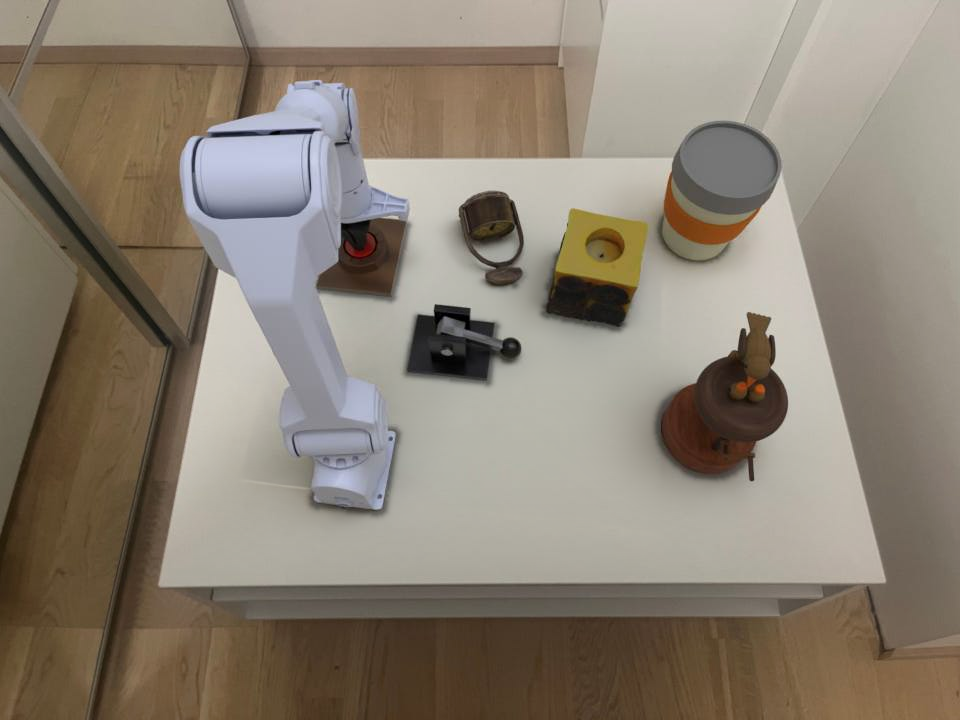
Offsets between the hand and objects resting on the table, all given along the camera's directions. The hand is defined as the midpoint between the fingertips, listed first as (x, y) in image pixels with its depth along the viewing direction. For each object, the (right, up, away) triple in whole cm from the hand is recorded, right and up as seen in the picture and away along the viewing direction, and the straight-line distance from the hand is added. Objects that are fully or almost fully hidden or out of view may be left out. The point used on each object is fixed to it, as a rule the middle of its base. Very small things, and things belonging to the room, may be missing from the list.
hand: (360, 243), depth 89 cm
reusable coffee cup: (+46, +2, +4) cm, 46 cm away
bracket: (+12, -14, -3) cm, 19 cm away
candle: (+31, -6, +1) cm, 31 cm away
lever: (+16, -13, -6) cm, 21 cm away
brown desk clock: (+17, 0, +3) cm, 18 cm away
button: (0, -1, +1) cm, 2 cm away
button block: (0, -1, +3) cm, 3 cm away
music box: (+43, -25, -8) cm, 50 cm away
